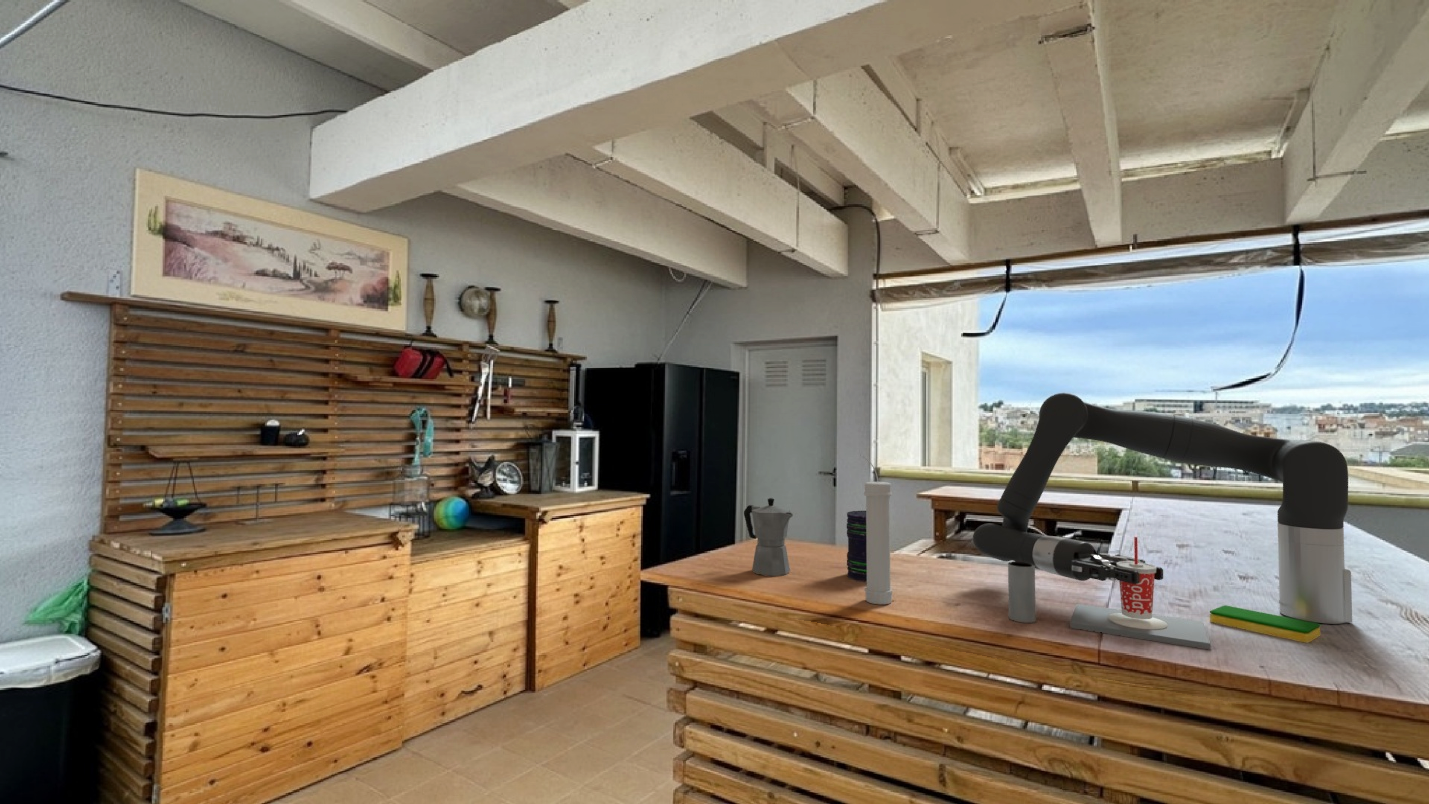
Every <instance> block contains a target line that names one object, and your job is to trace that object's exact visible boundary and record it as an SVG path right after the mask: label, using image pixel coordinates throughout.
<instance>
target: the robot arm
mask: <svg viewBox="0 0 1429 804" xmlns="http://www.w3.org/2000/svg"><path fill="white" fill-rule="evenodd" d="M1038 417H1039V418H1038V421H1037V424H1036V425H1037V426H1036V428H1035V431H1034V434H1033V437H1032V439H1031V442H1030V444H1029V446H1028V447H1027V450H1026V452H1025V454H1024V456H1023V457H1022V459H1021V460H1020V462H1019V464H1018V465H1017V467H1016V468H1015V470H1014V472H1013V474H1012V476H1011V477H1010V479H1009V481H1008V483H1007V485H1005V488H1004V490H1003V493H1002V494H1001V496H1000V498H999V501H998V502H997V505H996V510H997V512H998V514H1000V515H1001V516H1002V517H1003V519H1002V524H1001V525H999V524H996V523H991V522H989V523H984V524H981V525H979V526H977V528H976V529H975V530H974V532H973V533H972V543H973V545H974V547H975V548H976V550H977V551H978V552H980V553H981V554H982V555H985V556H987V557H991V558H994V559H996V560H999V561H1002V562H1013V561H1020V562H1028V563H1032V564H1034V565H1035V569H1037V570H1041V571H1044V572H1047V573H1050V574H1052V575H1057V576H1061V577H1065V578H1068V579H1073V580H1077V581H1080V582H1085V581H1088V580H1090V579H1093V580H1097V581H1101V582H1105V581H1107V580H1108V581H1113V582H1114V581H1118V582H1119V581H1123V582H1127V583H1132V584H1138V583H1139V572H1138V571H1134V570H1129V569H1125V568H1120V567H1117V562H1122V561H1130V562H1135V557H1132V556H1126V555H1122V554H1119V553H1118V554H1115V555H1110V554H1109V553H1105V552H1100V553H1099V554H1098V552H1097V551H1096V549H1095V546H1093V545H1092V544H1091V543H1089V542H1086V541H1082V540H1077V539H1071V538H1067V537H1066V538H1065V537H1061V536H1053V535H1044V534H1040V533H1039V534H1038V533H1034V532H1033V533H1032V532H1028V530H1029V529H1028V528H1029V522H1030V521H1029V520H1030V519H1031V516H1032V515H1033V513H1034V512H1035V508H1036V507H1037V505H1038V503H1039V501H1040V498H1041V497H1042V495H1043V492H1044V490H1045V488H1046V485H1048V481H1049V480H1050V476H1051V475H1052V472H1053V470H1054V468H1055V466H1056V464H1057V462H1058V461H1059V459H1060V457H1061V456H1062V454H1063V452H1064V451H1065V449H1066V448H1067V446H1068V445H1069V444H1070V442H1071V441H1072V440H1073V438H1075V439H1076V438H1077V439H1082V440H1083V439H1084V440H1090V441H1098V442H1103V443H1104V442H1105V443H1108V444H1111V445H1115V446H1119V447H1121V448H1125V449H1127V450H1130V451H1134V452H1137V453H1140V454H1145V455H1148V456H1151V457H1156V458H1160V459H1164V460H1169V461H1173V462H1179V463H1184V464H1190V465H1196V466H1205V467H1212V468H1226V469H1227V468H1228V469H1235V470H1241V471H1244V472H1247V473H1253V474H1255V475H1259V476H1262V477H1266V478H1268V479H1271V480H1276V481H1277V482H1282V501H1281V504H1280V506H1279V508H1278V509H1277V549H1278V550H1277V552H1278V553H1277V554H1278V556H1277V557H1278V593H1279V594H1278V595H1279V600H1278V601H1279V602H1278V604H1279V613H1280V614H1282V615H1284V616H1285V617H1288V618H1293V619H1298V620H1303V621H1308V622H1313V623H1318V624H1321V623H1322V624H1330V625H1331V624H1333V625H1337V624H1339V625H1340V624H1345V623H1351V624H1352V623H1353V597H1352V593H1353V592H1352V571H1351V570H1350V569H1348V568H1346V567H1345V565H1346V564H1345V537H1344V536H1345V534H1344V530H1345V529H1344V527H1345V526H1344V522H1345V521H1344V520H1345V517H1346V515H1347V513H1348V507H1349V506H1348V504H1349V468H1348V464H1347V463H1348V462H1347V460H1346V457H1345V456H1344V454H1343V453H1342V452H1341V451H1340V450H1339V448H1337V447H1335V446H1333V445H1331V444H1329V443H1326V442H1322V441H1315V440H1305V439H1285V438H1277V437H1269V436H1268V437H1267V436H1259V435H1253V434H1247V433H1245V432H1244V433H1243V432H1240V431H1236V430H1234V429H1231V428H1228V427H1225V426H1222V425H1219V424H1216V423H1211V422H1208V421H1206V420H1205V421H1204V420H1201V419H1196V418H1193V417H1192V418H1191V417H1186V416H1181V415H1177V414H1172V413H1171V414H1170V413H1169V414H1168V413H1163V412H1154V411H1144V410H1142V411H1141V410H1140V411H1139V410H1121V409H1114V408H1113V409H1111V408H1108V407H1104V406H1099V405H1095V404H1091V403H1088V402H1084V401H1083V400H1082V398H1080V397H1079V396H1078V395H1076V394H1073V393H1070V392H1060V393H1059V392H1058V393H1056V394H1055V393H1054V394H1053V395H1050V396H1049V397H1048V398H1046V399H1045V400H1044V401H1043V403H1042V404H1041V407H1040V409H1039V412H1038ZM1138 562H1141V563H1146V560H1144V559H1141V558H1140V559H1139V558H1138ZM1156 568H1157V570H1156V573H1155V576H1154V580H1155V581H1162V580H1163V579H1164V569H1163V568H1162V567H1160V566H1156Z"/></svg>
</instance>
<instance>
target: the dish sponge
mask: <svg viewBox="0 0 1429 804" xmlns="http://www.w3.org/2000/svg"><path fill="white" fill-rule="evenodd" d="M1210 621H1211V623H1213V622H1214V624H1218V623H1220V624H1219V625H1222V624H1223V625H1224V626H1227V627H1232V626H1233V627H1232V628H1236V627H1237V629H1242V630H1245V629H1246V630H1247V631H1250V632H1256V633H1259V634H1260V633H1261V634H1265V635H1270V636H1273V637H1279V638H1283V639H1287V638H1289V639H1288V640H1291V639H1292V640H1291V641H1297V642H1302V643H1311V642H1312V641H1314V640H1316V639H1317V638H1319V637H1320V636H1321V623H1318V622H1311V621H1305V620H1300V619H1296V618H1292V617H1289V616H1283V615H1282V616H1281V615H1276V614H1271V613H1267V612H1262V611H1261V612H1260V611H1256V610H1251V609H1246V608H1240V607H1236V606H1232V605H1231V606H1230V605H1222V606H1218V607H1217V608H1214V609H1212V610H1210V611H1209V622H1210ZM1246 630H1245V631H1246ZM1318 636H1319V637H1318ZM1315 638H1316V639H1315Z"/></svg>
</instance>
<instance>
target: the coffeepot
mask: <svg viewBox="0 0 1429 804" xmlns="http://www.w3.org/2000/svg"><path fill="white" fill-rule="evenodd" d="M774 503H775V499H774V498H772V497H769V498H767V504H768V505H765V506H757V505H752V504H749V505H747V507H746V508H745V509H744V511H743V516H744V520H745V524H746V529H747V532H748V536H749V538H751V539H755V540H756V539H757V544H756V546H755V551H754V557H753V563H752V567H751V568H752V569H751V571H752V572H753V573H754V572H755V573H756V575H758V574H762V575H767V576H766V577H782V576H785V575H788V574H789V572H791V569H790V564H789V563H790V562H789V558H788V557H789V556H788V551H787V546H786V542H785V539H786V538H787V536H788V528H789V521H790V520H791V518H792V517H793V514H794V513H792V512H791V510H789V509H786V508H783V507H780V506H775V505H774ZM751 515H752V516H751ZM752 521H753V524H752ZM755 573H754V574H755ZM762 575H761V576H762ZM779 575H780V576H779ZM781 575H782V576H781Z"/></svg>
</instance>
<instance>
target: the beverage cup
mask: <svg viewBox="0 0 1429 804" xmlns="http://www.w3.org/2000/svg"><path fill="white" fill-rule="evenodd" d="M1133 538H1134V539H1133V540H1134V543H1133V544H1134V550H1133V551H1134V558H1135V562H1130V561H1122V562H1117V567H1120V568H1125V569H1129V570H1134V571H1138V572H1139V583H1138V584H1132V583H1127V582H1123V581H1119V580H1118V582H1119V583H1118V584H1119V595H1120V606H1121V610H1122V614H1123V615H1124V616H1127V617H1131V618H1136V619H1151V618H1152V614H1153V605H1154V592H1155V591H1154V589H1155V579H1154V576H1155V573H1156V570H1157V568H1156V567H1157V566H1156V565H1153V564H1150V563H1146V562H1145V563H1141V562H1138V559H1139V558H1138V557H1139V556H1138V555H1139V552H1138V536H1134V537H1133Z"/></svg>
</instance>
